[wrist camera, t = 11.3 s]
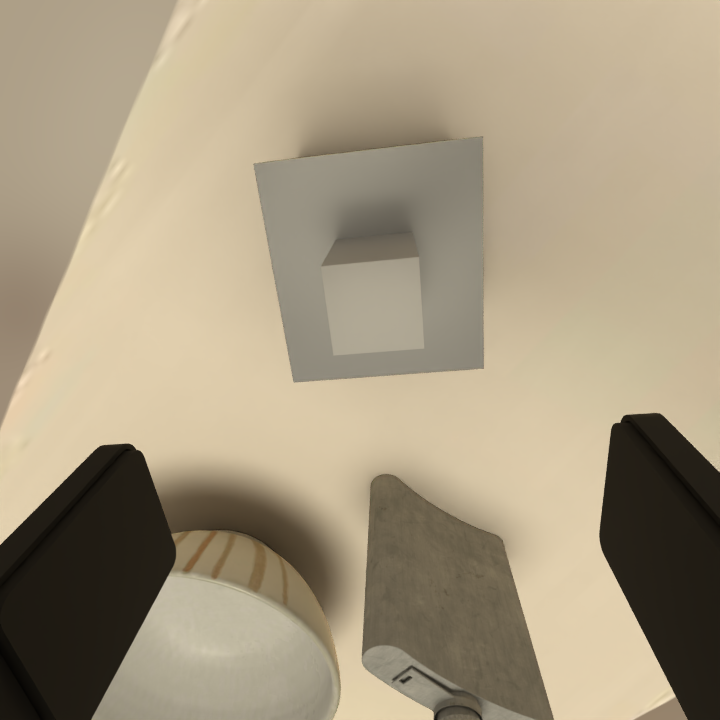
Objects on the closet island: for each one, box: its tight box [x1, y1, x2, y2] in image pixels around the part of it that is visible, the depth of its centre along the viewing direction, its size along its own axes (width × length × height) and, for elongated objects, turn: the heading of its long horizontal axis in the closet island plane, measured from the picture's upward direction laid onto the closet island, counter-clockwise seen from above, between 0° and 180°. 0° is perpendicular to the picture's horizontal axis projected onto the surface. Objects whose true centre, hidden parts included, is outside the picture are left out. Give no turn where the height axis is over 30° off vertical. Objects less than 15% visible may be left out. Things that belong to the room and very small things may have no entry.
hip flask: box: [362, 474, 554, 720], centre depth 39 cm, size 16×4×20 cm, turn 57°
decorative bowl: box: [91, 530, 341, 720], centre depth 48 cm, size 27×27×12 cm
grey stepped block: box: [254, 137, 484, 382], centre depth 29 cm, size 11×12×19 cm
